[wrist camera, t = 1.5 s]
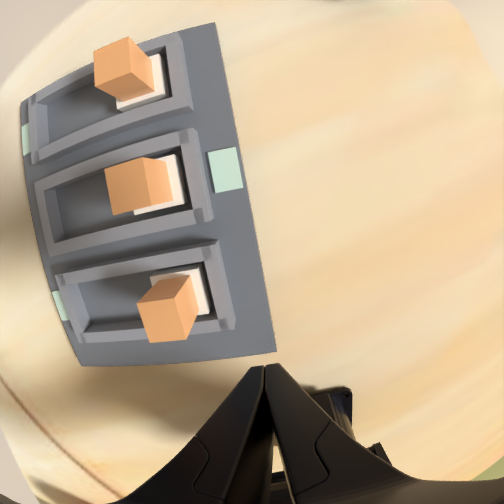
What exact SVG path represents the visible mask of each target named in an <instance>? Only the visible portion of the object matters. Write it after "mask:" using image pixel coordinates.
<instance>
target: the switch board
mask: <svg viewBox="0 0 504 504" xmlns="http://www.w3.org/2000/svg"><path fill="white" fill-rule="evenodd" d="M137 46H138V47H139V48H140V49H141V50H142V51H143V52H144V53H145V54H146V55H147V56H148V57H150V56H153V55H156V54H159V55H160V56H161V57H162V58H163V59H164V61H165V68H166V76H167V83H168V90H169V96H170V98H167V99H163V100H160V101H157V102H153V103H150V104H147V105H144V106H141V107H138V108H135V109H132V110H129V111H126V112H122V111H120V110H118V109H117V104H116V97H114V96H112V95H110V94H108V93H106V92H104V91H102V90H100V89H98V88H97V87H95V79H94V62H93V63H91V64H89V65H86V66H84V67H82V68H80V69H78V70H76V71H74V72H72V73H70V74H68V75H67V76H65V77H63V78H61V79H59V80H57V81H55V82H54V83H52V84H50V85H48V86H47V87H45V88H43V89H42V90H40V91H38V92H37V93H35V94H33V95H32V96H30V97H29V98H27V99H26V100H24V101H23V102H21V131H22V148H23V159H24V169H25V177H26V185H27V191H28V198H29V204H30V209H31V215H32V220H33V224H34V229H35V234H36V238H37V242H38V246H39V250H40V254H41V258H42V262H43V265H44V269H45V272H46V276H47V279H48V282H49V285H50V288H51V291H52V294H53V297H54V300H55V303H56V306H57V309H58V312H59V314H60V317H61V320H62V322H63V325H64V327H65V330H66V332H67V335H68V337H69V340H70V342H71V344H72V347H73V349H74V351H75V353H76V356H77V358H78V360H79V362H80V364H81V366H140V365H160V364H175V363H188V362H199V361H209V360H219V359H228V358H236V357H244V356H251V355H258V354H265V353H271V352H277V347H276V340H275V334H274V329H273V323H272V318H271V312H270V306H269V301H268V295H267V290H266V284H265V279H264V273H263V268H262V262H261V257H260V251H259V246H258V241H257V235H256V230H255V224H254V219H253V214H252V208H251V203H250V198H249V192H248V187H247V182H246V176H245V171H244V166H243V160H242V155H241V150H240V145H239V139H238V134H237V129H236V124H235V119H234V113H233V108H232V103H231V98H230V93H229V88H228V83H227V77H226V72H225V67H224V62H223V57H222V52H221V47H220V42H219V37H218V32H217V28H216V24H215V22H214V23H209V24H205V25H200V26H196V27H192V28H188V29H185V30H181V31H177V32H173V33H170V34H167V35H163V36H160V37H157V38H154V39H151V40H148V41H145V42H142V43H139V44H137ZM173 154H174V155H178V156H179V157H180V162H181V168H182V173H183V178H184V184H185V189H186V194H187V199H188V203H185V204H181V205H176V206H172V207H167V208H163V209H159V210H154V211H150V212H146V213H142V214H138V215H134V211H133V210H132V211H128V212H125V213H121V214H117V215H113V212H112V208H111V203H110V198H109V192H108V187H107V181H106V176H105V170H104V169H106V168H109V167H112V166H115V165H118V164H122V163H125V162H128V161H131V160H134V159H138V158H141V157H145V158H150V159H158V158H161V157H165V156H169V155H173ZM200 263H201V264H202V268H203V272H204V276H205V281H206V285H207V289H208V293H209V297H210V301H211V305H212V306H211V309H210V312H209V314H203V315H197V317H196V319H195V321H194V324H193V326H192V328H191V330H190V333H189V335H188V337H187V339H186V340H177V341H166V342H155V343H150V342H149V339H148V336H147V333H146V330H145V328H144V325H143V322H142V319H141V316H140V313H139V310H138V307H137V302H138V301H139V300H140V299H141V298H142V297H143V296H144V295H145V294H146V293H147V292H148V291H149V290H150V289H151V288H152V284H151V280H150V276H151V275H152V274H153V273H154V272H156V271H159V270H165V269H171V268H177V267H182V266H188V265H194V264H200Z"/></svg>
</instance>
